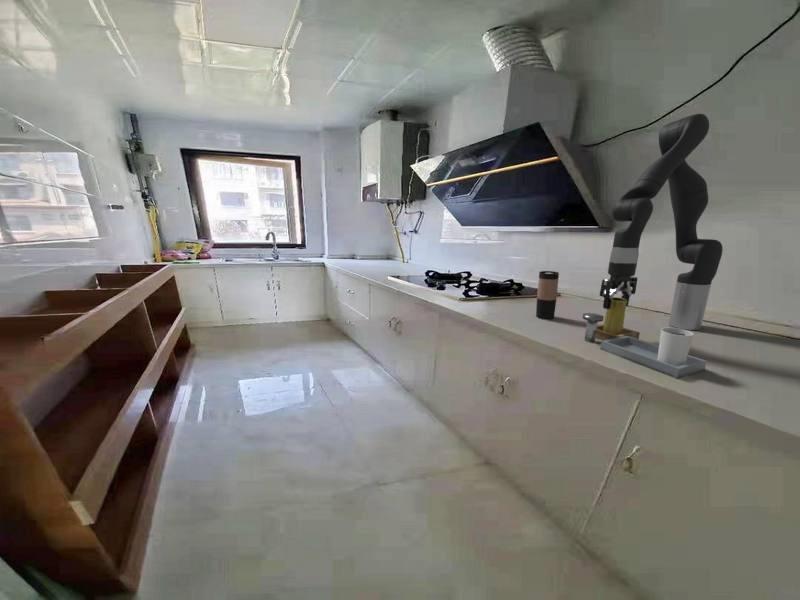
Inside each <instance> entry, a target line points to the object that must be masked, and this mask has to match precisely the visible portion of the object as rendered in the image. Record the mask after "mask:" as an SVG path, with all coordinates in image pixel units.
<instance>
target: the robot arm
mask: <svg viewBox="0 0 800 600" xmlns="http://www.w3.org/2000/svg"><path fill="white" fill-rule="evenodd" d="M709 129H710V121H709V117H707V115H706V114H705V113H695V114H691V115H688V116H685V117H684V118H680V119H676V120H674V121H672V122H671V121H670V122H669V123H666V124H665V125H663V126H662V127H661V128H660V131H659V133H658V146H659V149H660V150H659V151H660V154H661V156H660V157H659V158H658V159H656V160H655V161H654V162H652V163H651V164H650V165H649V166H648V167H646V169H645V170H644V171H643V172H642V174H641V175H640V176H639V178H638V179H637V181H636V183H635V184H634V185H633V186H632V187H631V188H630V189H628V191H626V192H625V193H624V194H623V195H622V196H620V197H619V199H617V200H616V202H615V203H614V205H613V207H612V209H611V217H612V219H613V220H615V221H616V222H630V224H629V225H628V226H627V227H626V228H622V229H618V230H616V231H615V233H614V236H613V243H612V248H611V252H610V256H609V262H608V269H607V274H608V275H610V277H609V278H608V279H607V278H602V280H601V284H600V285H601V286H600V290H599V297H603V304H602V308H603V309H605V310H607V309H611V304H612V297H615V295H616V294H618V293H619V292H620V293H621V294H622V295H621V297H620V298H624V299H627V304H626V308H627V307H628V306H629V304H630V303H629V302H630V298H631V296H632V295H635V294H636V292H637V286H638V285H637V283H638V277H636V276H635V275H636V271H637V265H638V261H639V248H640V244H641V242H640V241H641V238H642V234H643V232H644V230H645V228H646V226H647V223H648V222H649V220H650V218H651V215H652V214H653V211H654V210H653V209H654V205H653V204H654V203H653V201H651V200H652V199H653V198H655V197H656V196H657V195H658V194H659V192H660V191H661V190H662V188H663V186H664V185H665V183H666V182H668V187H669V195H670V203H671V208H672V213H673V219H674V220H673V221H674V228H675V229H674V230H675V252H676V257H677V259H678V261H680V262H681V263H684V264H689V265H693V266H692V267H693V268H692V269H691V270H690V271H687V272H683V273H680V274H678V275H677V279H676V284H675V289H674V295H673V299H672V304H671V309H670V312H669V313H670V315H669V320H668V325H669V326H671V327H672V328H679V329H684V330H687V331H699V330H701V329H702V325H703V320H704V317H705V313H706V308H707V303H708V300H709V296H710V295H709V294H710V292H711V291H710V290H711V285H712V282H713V280H714V278H715V277H716V275H717V272H718V268H719V265H720V263H721V259H722V256H723V250H724V249H723V245H722V242H721V241H719V240H717V239H713V238H712V239H710V238H709V239H706V238H698V233H697V225H698V222H699V220H700V218H701V216H702V215H703V214H704V212H705V210H706V208H707V207H708V203H709V192H708V185H707V181H706V180H705V178H703V176H702V175H701V174H700V173H698V172H697V171H696V170H695V169H694V168H693V167H691V166H690V165H689V164H688V162H687V161H686V159H687V158H688V156H690V154H692V152H693V151H694V150H696V148H698V146H699V145H700V144H701V143H702V142H703V141H704V140H705V138H706V137H707V135H708V133H709Z"/></svg>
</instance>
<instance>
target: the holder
mask: <svg viewBox="0 0 800 600" xmlns="http://www.w3.org/2000/svg"><path fill="white" fill-rule="evenodd" d="M603 327H604V323H602V324H597V330H596V337H595V339H596V340H600V341H604V340H609V339H614V338H618V337H623V336H630V337H633V338H636V339H639V340H640V333H641V332H639V331H636V330H633V329H630V328H626V327H624V326H623V334H620V335H614V334H611V333H608V332H605V331H603Z"/></svg>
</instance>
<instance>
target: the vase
mask: <svg viewBox="0 0 800 600" xmlns="http://www.w3.org/2000/svg"><path fill="white" fill-rule="evenodd" d="M626 304H627V299H624V298H621V297H616V296H613V297H612V304H611V309H606V311H605V317H604V323H603V324H604V327H603V331H605V332H608V333H611V334H614V335H620V334H623V327H624V324H625V318H626V317H625V316H626V315H625V314H626V308H627V307H626Z"/></svg>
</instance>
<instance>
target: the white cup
mask: <svg viewBox="0 0 800 600" xmlns="http://www.w3.org/2000/svg"><path fill="white" fill-rule="evenodd" d="M693 339H694V333H693V332H692V331H691V330H687V329H681V328H676V327H669V326H667V327H662V328H661V329H660V337H659V342H658V343H659V344H658V346H659V350H658V358H657V360H660V361H662V362H665V363H668V364H671V365H674V366H681V365H684V364H685V363H686V359H687V356H688V355H689V353H690V349H691V346H692V342H693Z"/></svg>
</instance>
